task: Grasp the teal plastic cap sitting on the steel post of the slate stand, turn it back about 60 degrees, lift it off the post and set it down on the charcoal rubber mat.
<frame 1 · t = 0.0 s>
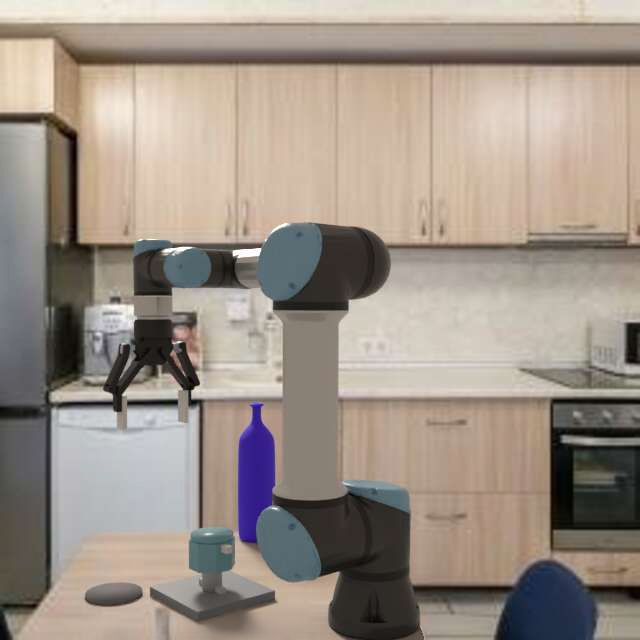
hand: (153, 425, 167), 28 cm above the table, fingers open, 13 cm apart
bottle: (256, 538, 188), on the table
mat: (114, 595, 152), on the table
stand: (212, 596, 151), on the table
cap: (212, 566, 151), point 5 cm above the table, touching stand
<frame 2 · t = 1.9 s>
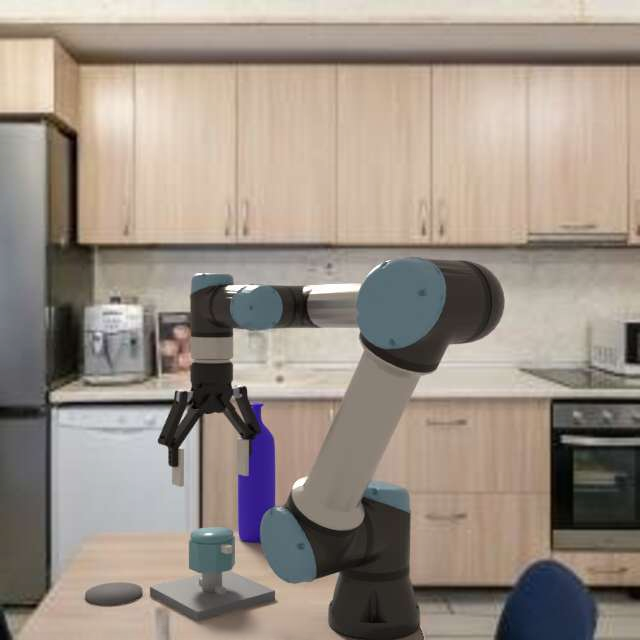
hand: (211, 479, 150), 21 cm above the table, fingers open, 13 cm apart
nothing on the table moved.
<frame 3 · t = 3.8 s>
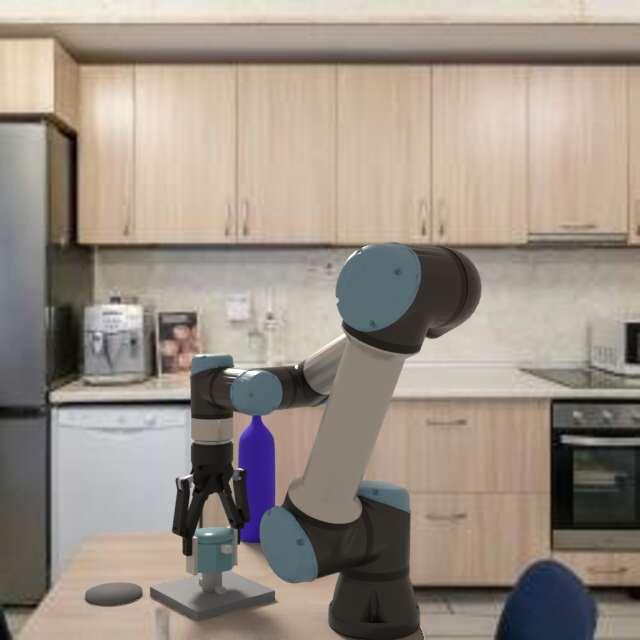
hand: (212, 568, 151), 5 cm above the table, fingers closed on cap, 8 cm apart
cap: (212, 566, 151), point 5 cm above the table, touching gripper, stand
everything else where it was.
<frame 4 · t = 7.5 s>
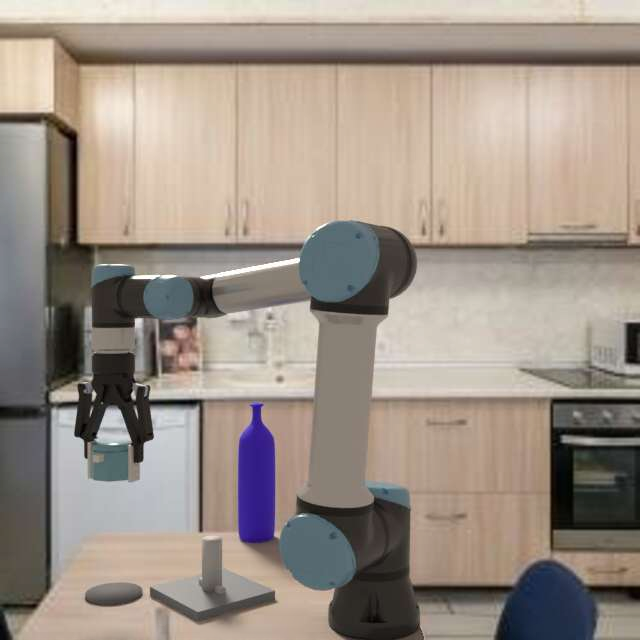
hand: (113, 478, 151), 21 cm above the table, fingers closed on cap, 8 cm apart
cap: (113, 476, 151), point 21 cm above the table, touching gripper
everything else where it was.
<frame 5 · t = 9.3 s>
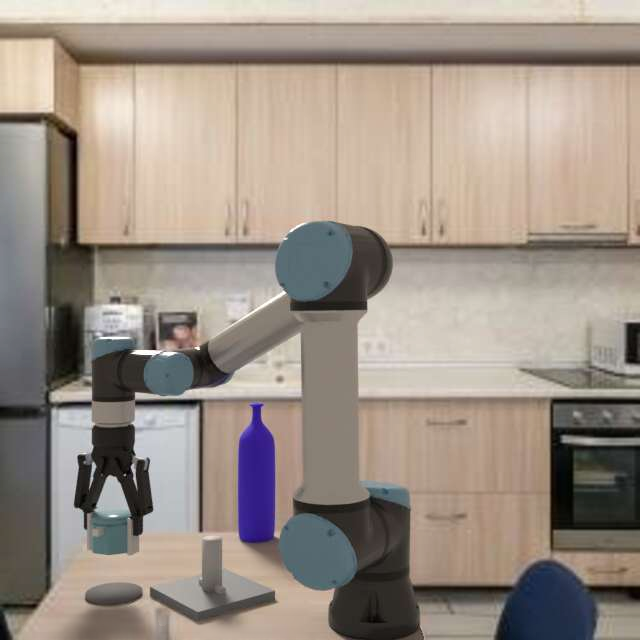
hand: (113, 550, 151), 8 cm above the table, fingers closed on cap, 8 cm apart
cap: (113, 548, 152), point 8 cm above the table, touching gripper
everything else where it was.
when the fingers open (2 cm above the table, at t = 11.1 s): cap drops 2 cm, resting on mat.
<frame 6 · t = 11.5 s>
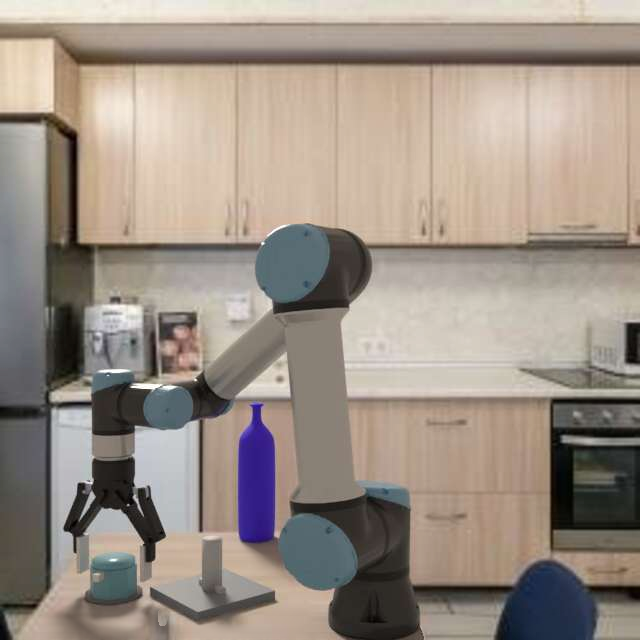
hand: (113, 575, 151), 4 cm above the table, fingers open, 12 cm apart
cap: (113, 592, 151), point 1 cm above the table, touching mat
everything else where it was.
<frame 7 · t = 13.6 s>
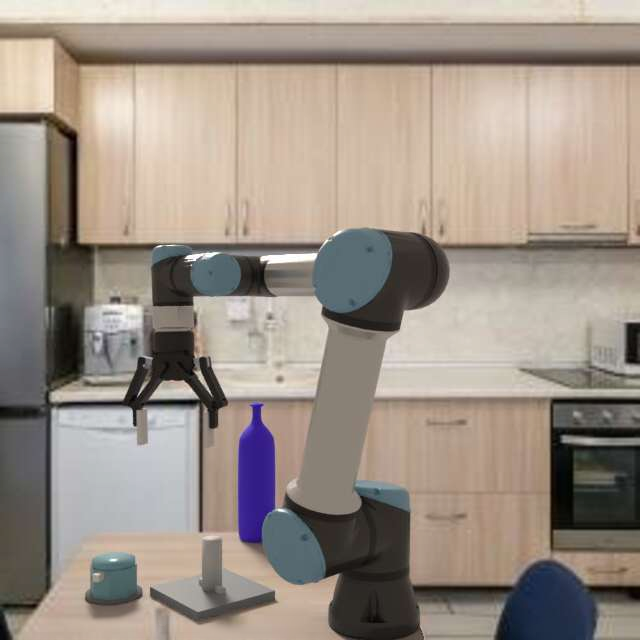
hand: (175, 445, 156), 26 cm above the table, fingers open, 13 cm apart
nothing on the table moved.
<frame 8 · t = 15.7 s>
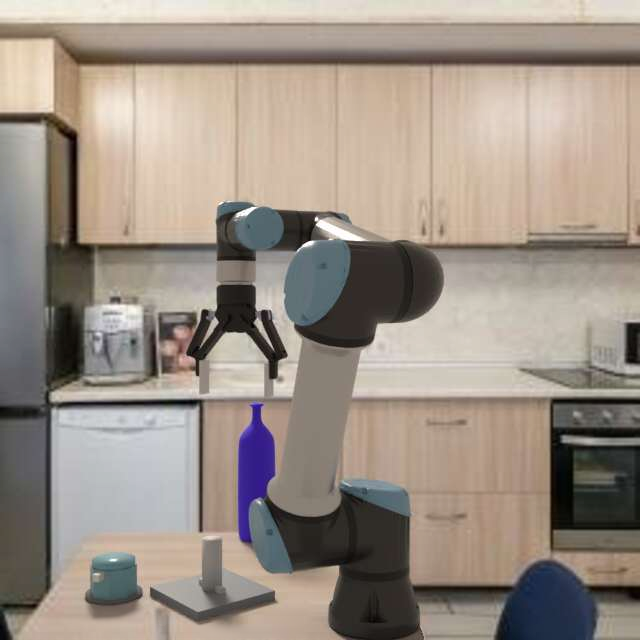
hand: (236, 395, 162), 35 cm above the table, fingers open, 13 cm apart
nothing on the table moved.
at the end: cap inside the target area on the mat (0.1 cm from its centre), point 0.6 cm above the mat's base; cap tilted 0°; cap touching mat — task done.
